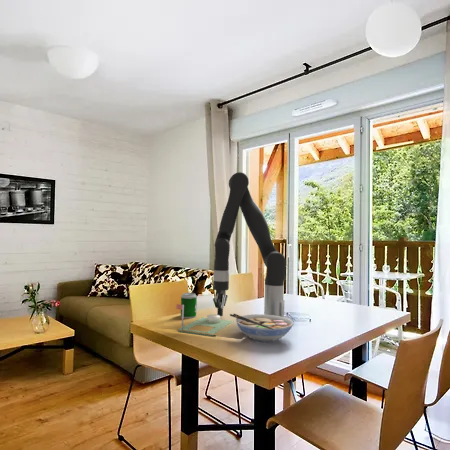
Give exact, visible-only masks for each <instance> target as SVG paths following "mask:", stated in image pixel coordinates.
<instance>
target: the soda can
mask: <svg viewBox="0 0 450 450" xmlns="http://www.w3.org/2000/svg"><path fill="white" fill-rule="evenodd" d="M197 297H198V296H197V295H196V293H194V292H183V293H182V294H181V296H180V298H181V299H180V304H181V305H184V319H194V318H197V308H198V307H197V305H198V304H197V303H198V301H197V300H198V299H197ZM180 318H182V310H181V309H180Z"/></svg>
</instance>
